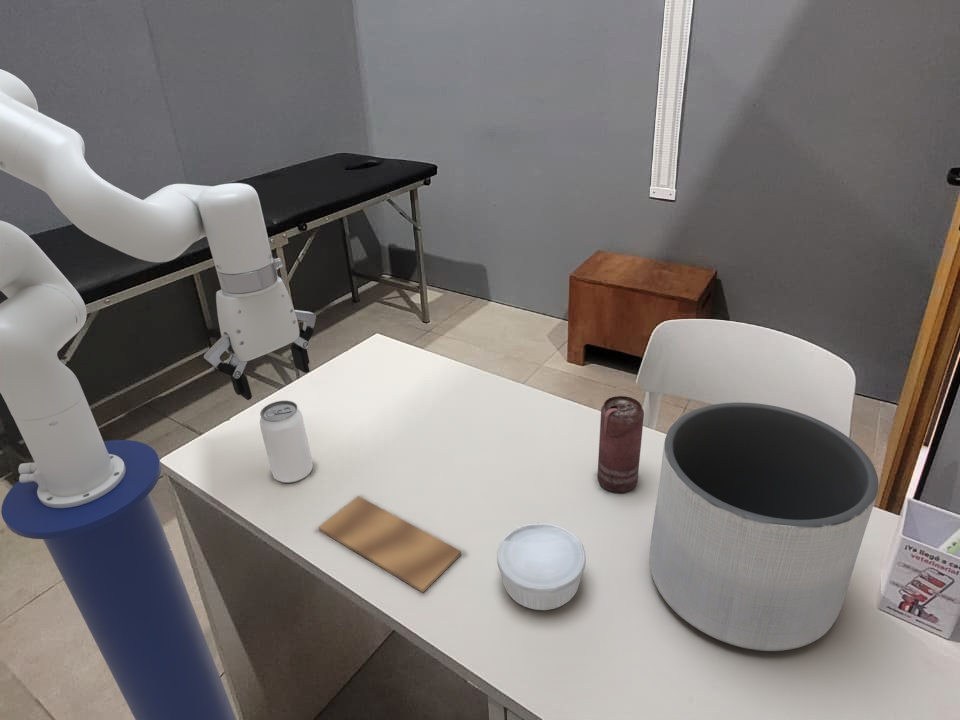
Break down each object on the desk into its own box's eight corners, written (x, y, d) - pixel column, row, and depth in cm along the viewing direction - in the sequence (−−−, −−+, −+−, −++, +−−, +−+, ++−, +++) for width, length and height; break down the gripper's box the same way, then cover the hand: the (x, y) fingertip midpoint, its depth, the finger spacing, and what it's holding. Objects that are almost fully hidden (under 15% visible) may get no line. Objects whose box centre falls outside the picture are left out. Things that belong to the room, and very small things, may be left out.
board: (319, 530, 94) (318, 527, 94) (358, 498, 99) (358, 496, 99) (423, 593, 83) (422, 589, 83) (461, 554, 89) (461, 551, 88)
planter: (658, 504, 95) (673, 388, 86) (829, 538, 88) (865, 416, 78) (635, 628, 77) (650, 499, 67) (848, 684, 70) (899, 549, 60)
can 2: (587, 481, 101) (591, 406, 94) (613, 463, 104) (618, 389, 97) (619, 500, 97) (625, 423, 90) (645, 480, 100) (652, 405, 93)
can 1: (271, 464, 108) (255, 404, 102) (310, 455, 110) (297, 395, 104) (275, 488, 102) (258, 426, 96) (316, 477, 104) (303, 416, 98)
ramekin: (552, 539, 90) (552, 510, 88) (602, 594, 82) (604, 564, 79) (482, 571, 86) (480, 542, 83) (527, 633, 77) (527, 603, 75)
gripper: (288, 253, 97) (310, 353, 105) (174, 290, 86) (209, 398, 95) (316, 264, 92) (336, 368, 100) (199, 305, 82) (233, 417, 90)
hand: (274, 382), depth 98 cm, fingers open, 9 cm apart
